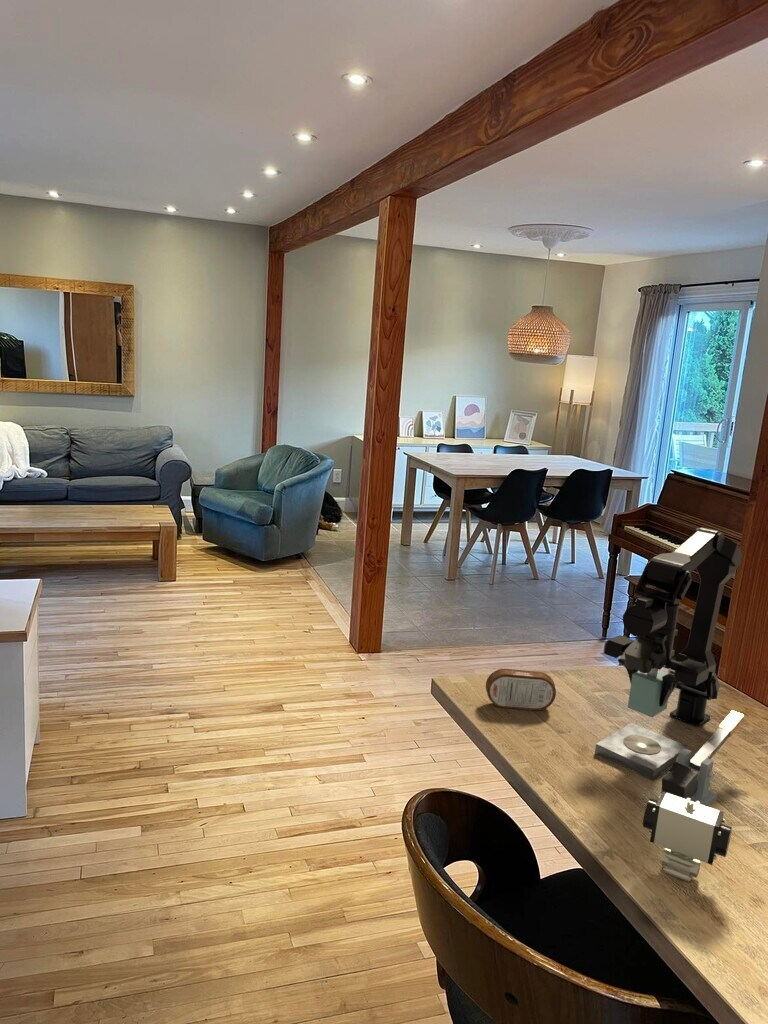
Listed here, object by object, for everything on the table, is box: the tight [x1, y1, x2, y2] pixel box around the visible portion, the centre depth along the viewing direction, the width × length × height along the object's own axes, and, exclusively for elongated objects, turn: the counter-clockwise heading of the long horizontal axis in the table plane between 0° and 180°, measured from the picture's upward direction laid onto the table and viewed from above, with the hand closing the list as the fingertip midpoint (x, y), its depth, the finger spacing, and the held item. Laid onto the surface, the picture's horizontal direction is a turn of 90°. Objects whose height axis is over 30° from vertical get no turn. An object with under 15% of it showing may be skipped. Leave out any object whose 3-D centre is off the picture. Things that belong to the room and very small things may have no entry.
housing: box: [627, 668, 669, 718], centre depth 147 cm, size 6×5×9 cm
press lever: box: [660, 710, 745, 799], centre depth 138 cm, size 26×4×4 cm, turn 134°
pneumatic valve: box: [642, 790, 733, 883], centre depth 115 cm, size 6×12×12 cm, turn 58°
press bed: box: [594, 722, 689, 781], centre depth 150 cm, size 14×12×2 cm
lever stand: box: [676, 748, 718, 807], centre depth 136 cm, size 6×7×8 cm
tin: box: [485, 668, 557, 711], centre depth 166 cm, size 15×3×8 cm, turn 87°
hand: (648, 700), depth 148 cm, fingers closed on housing, 5 cm apart
